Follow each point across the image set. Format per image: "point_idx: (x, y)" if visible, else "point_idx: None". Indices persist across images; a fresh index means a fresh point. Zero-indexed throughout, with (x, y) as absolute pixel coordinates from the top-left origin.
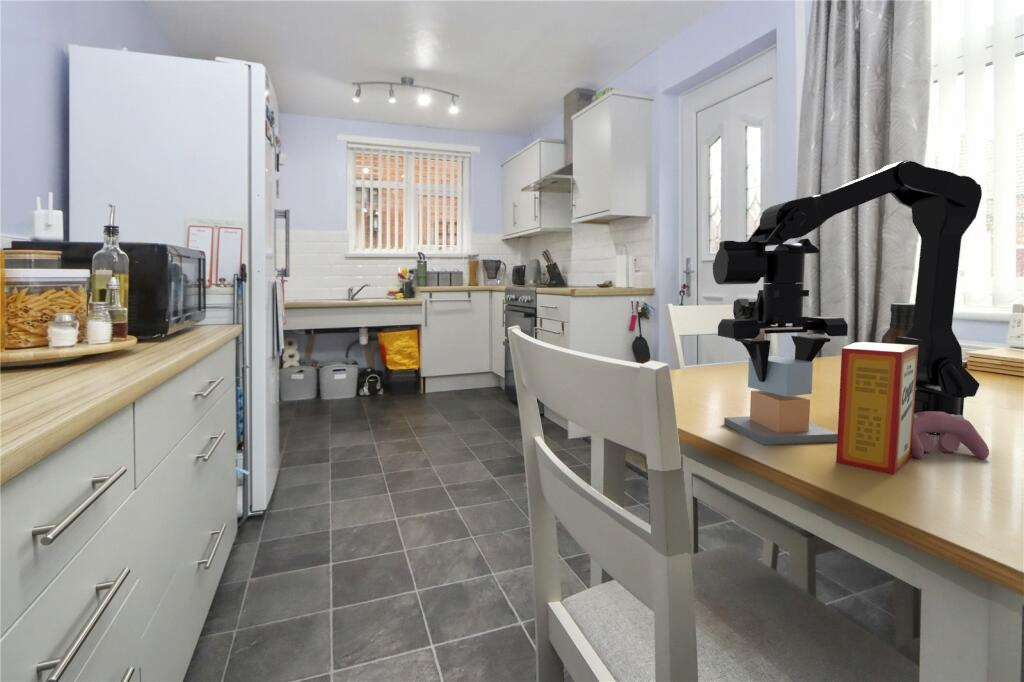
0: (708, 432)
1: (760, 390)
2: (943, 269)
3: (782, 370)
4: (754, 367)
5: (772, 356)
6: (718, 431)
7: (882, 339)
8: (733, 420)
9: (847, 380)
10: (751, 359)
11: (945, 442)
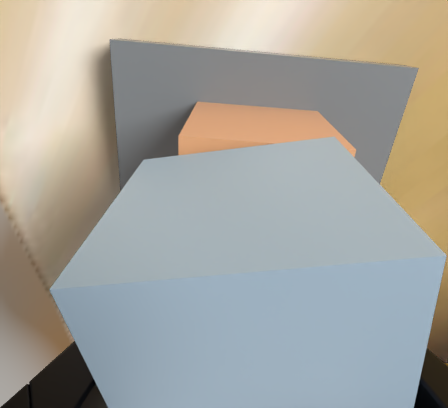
0: (24, 128)
1: (234, 148)
2: None
3: None
4: (75, 345)
5: (387, 294)
6: (62, 125)
7: None
8: (125, 98)
9: None
10: (16, 397)
11: None
